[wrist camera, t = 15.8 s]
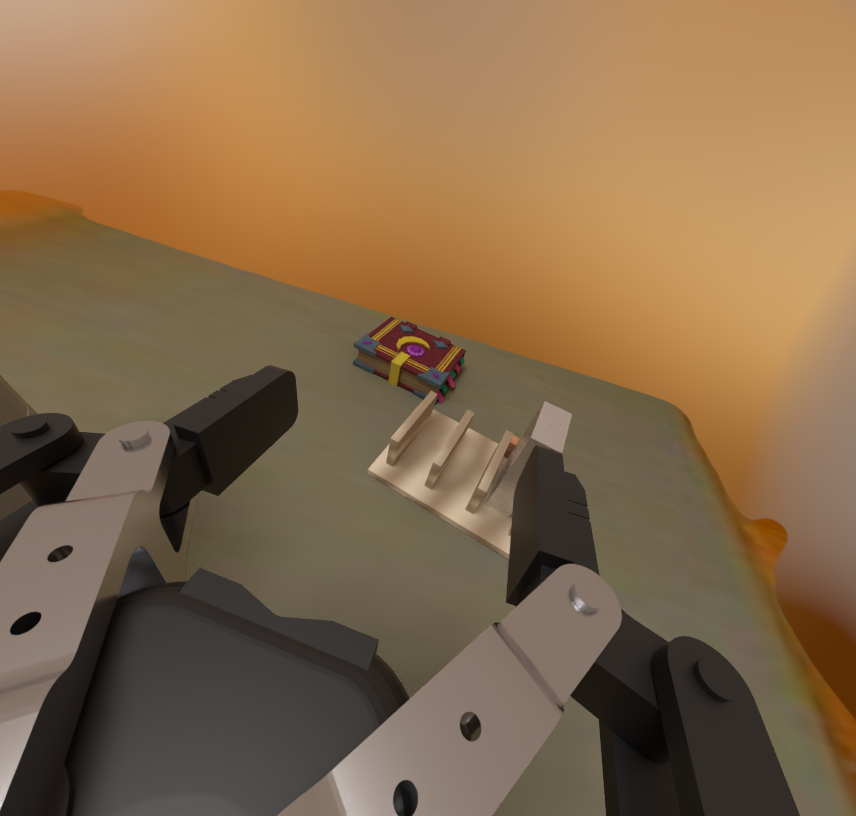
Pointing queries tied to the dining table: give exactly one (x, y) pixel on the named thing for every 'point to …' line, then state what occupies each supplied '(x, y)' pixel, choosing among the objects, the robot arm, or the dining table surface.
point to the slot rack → (448, 471)
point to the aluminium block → (528, 453)
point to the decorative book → (410, 358)
